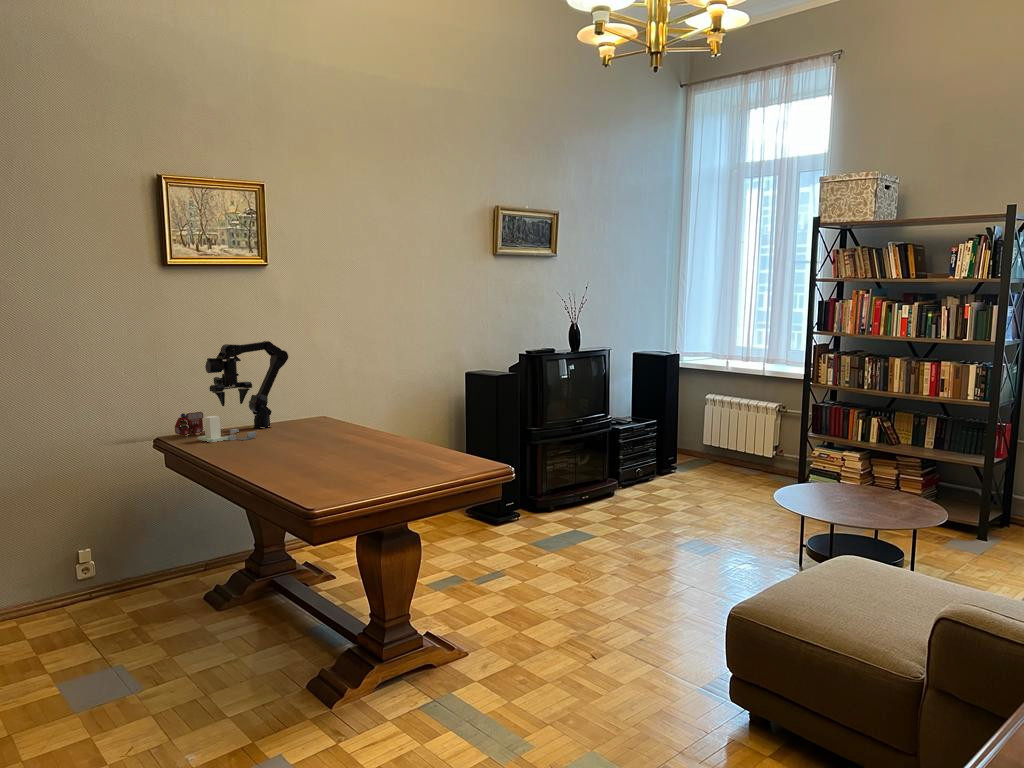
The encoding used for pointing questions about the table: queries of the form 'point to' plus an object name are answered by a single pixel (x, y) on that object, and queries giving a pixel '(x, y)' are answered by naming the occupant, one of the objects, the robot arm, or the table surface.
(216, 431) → the ivory block
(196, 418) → the toy fire truck
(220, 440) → the sage bay
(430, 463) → the table surface
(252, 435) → the channel
